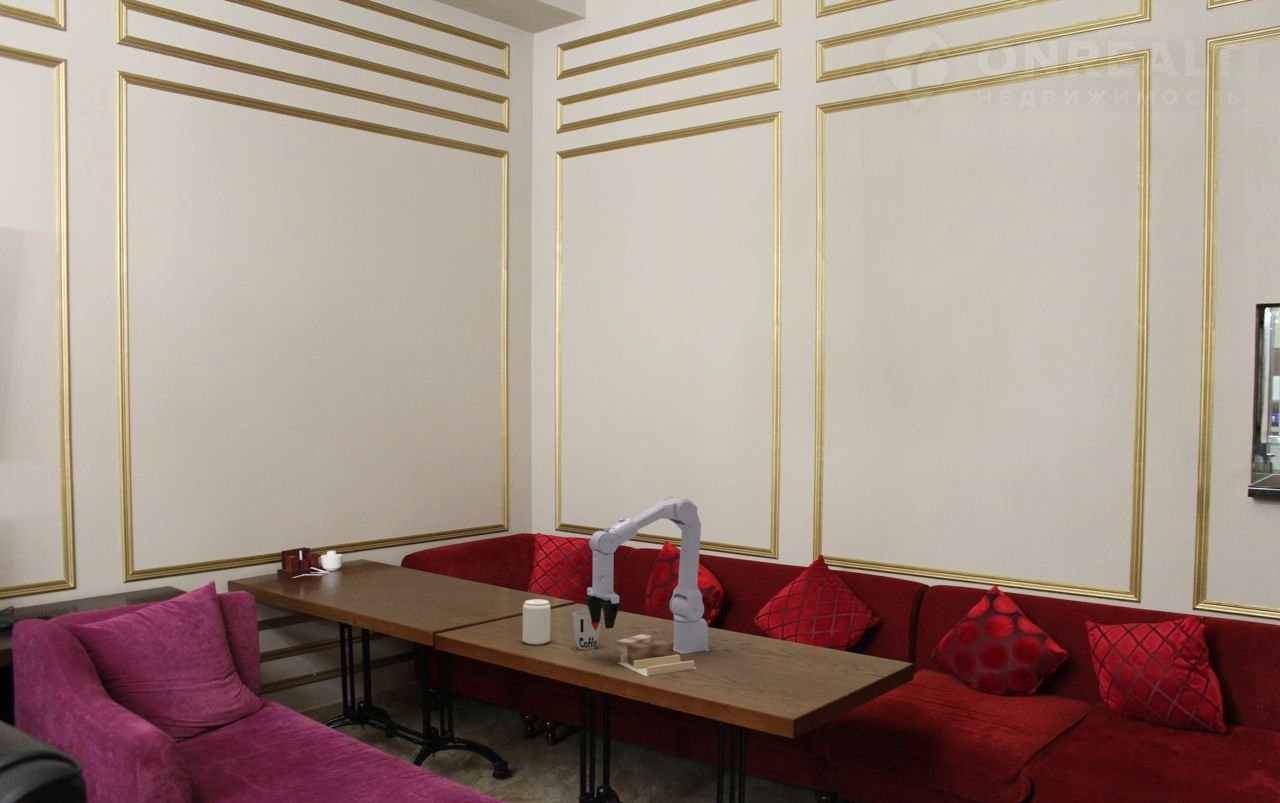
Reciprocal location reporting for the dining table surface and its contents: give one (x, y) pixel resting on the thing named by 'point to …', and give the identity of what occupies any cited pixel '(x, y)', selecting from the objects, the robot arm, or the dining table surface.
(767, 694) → the dining table surface
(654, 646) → the brown wooden block
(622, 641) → the beige wooden block
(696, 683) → the dining table surface
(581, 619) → the cup
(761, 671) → the dining table surface
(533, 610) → the beverage can
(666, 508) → the robot arm
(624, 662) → the slot board
